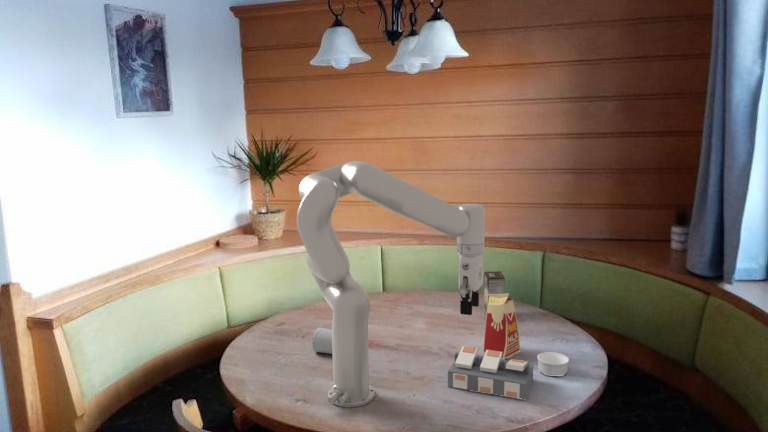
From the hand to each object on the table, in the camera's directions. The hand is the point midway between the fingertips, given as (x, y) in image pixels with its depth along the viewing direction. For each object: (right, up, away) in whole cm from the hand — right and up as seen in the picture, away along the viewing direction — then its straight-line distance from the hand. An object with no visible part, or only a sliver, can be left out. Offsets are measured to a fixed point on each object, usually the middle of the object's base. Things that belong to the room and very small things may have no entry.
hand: (469, 309), depth 162 cm
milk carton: (+12, -17, +19) cm, 28 cm away
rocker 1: (-1, -13, 0) cm, 13 cm away
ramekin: (+25, -19, +5) cm, 32 cm away
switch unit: (+6, -20, -2) cm, 21 cm away
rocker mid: (+6, -14, -3) cm, 15 cm away
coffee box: (+17, -11, +51) cm, 55 cm away
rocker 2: (+12, -14, -6) cm, 19 cm away
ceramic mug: (-42, -17, +22) cm, 50 cm away
